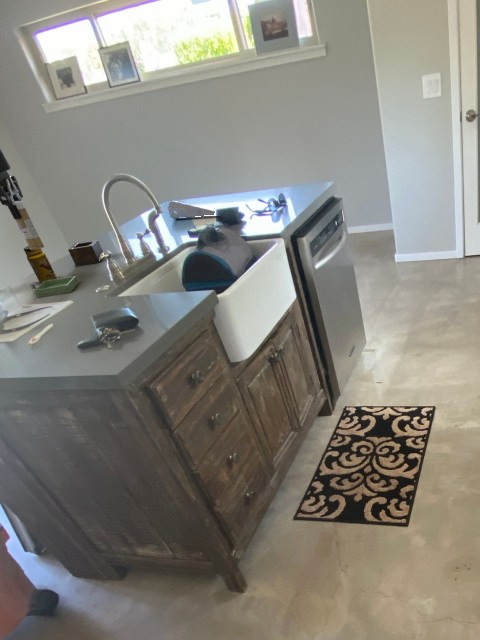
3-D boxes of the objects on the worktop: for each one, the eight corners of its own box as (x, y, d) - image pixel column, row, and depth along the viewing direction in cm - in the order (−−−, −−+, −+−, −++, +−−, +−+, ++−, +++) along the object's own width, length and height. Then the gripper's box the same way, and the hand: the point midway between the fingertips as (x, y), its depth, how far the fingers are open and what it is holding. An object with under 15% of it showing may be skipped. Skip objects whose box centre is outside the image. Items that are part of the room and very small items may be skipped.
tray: (37, 297, 175) (33, 290, 173) (47, 287, 182) (43, 281, 181) (70, 291, 175) (67, 284, 174) (79, 282, 183) (76, 275, 181)
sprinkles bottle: (27, 250, 170) (3, 204, 161) (39, 246, 173) (15, 200, 164) (36, 250, 168) (12, 203, 159) (48, 246, 171) (25, 200, 162)
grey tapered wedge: (226, 201, 241) (175, 198, 245) (219, 205, 235) (166, 202, 238) (230, 220, 246) (179, 217, 250) (222, 224, 240) (171, 221, 243)
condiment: (60, 281, 187) (42, 245, 179) (36, 288, 183) (16, 252, 175) (57, 277, 191) (39, 242, 183) (33, 284, 188) (13, 248, 180)
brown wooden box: (75, 266, 201) (67, 249, 197) (82, 259, 207) (74, 243, 203) (99, 262, 201) (91, 245, 197) (105, 255, 208) (98, 239, 204)
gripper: (-15, 151, 158) (17, 214, 169) (-36, 158, 147) (0, 224, 159) (10, 148, 158) (41, 210, 170) (-9, 154, 148) (25, 220, 159)
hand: (21, 216), depth 164 cm, fingers closed on sprinkles bottle, 4 cm apart
